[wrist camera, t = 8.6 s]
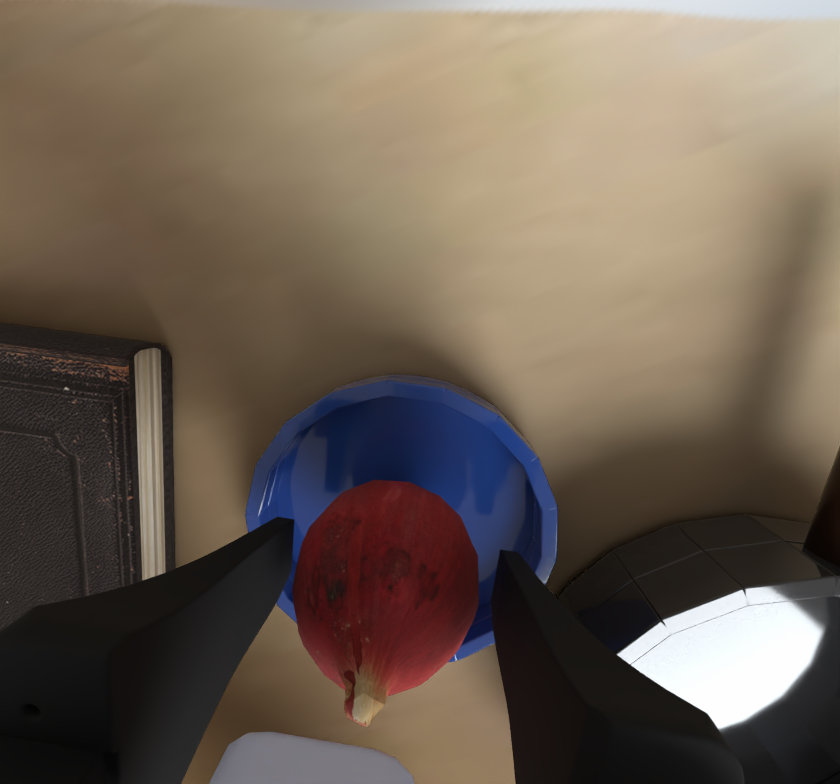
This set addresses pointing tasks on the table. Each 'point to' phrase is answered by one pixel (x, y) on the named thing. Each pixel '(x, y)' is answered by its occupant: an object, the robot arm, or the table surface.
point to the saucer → (413, 473)
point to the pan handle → (827, 520)
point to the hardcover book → (82, 465)
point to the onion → (384, 591)
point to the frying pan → (731, 635)
